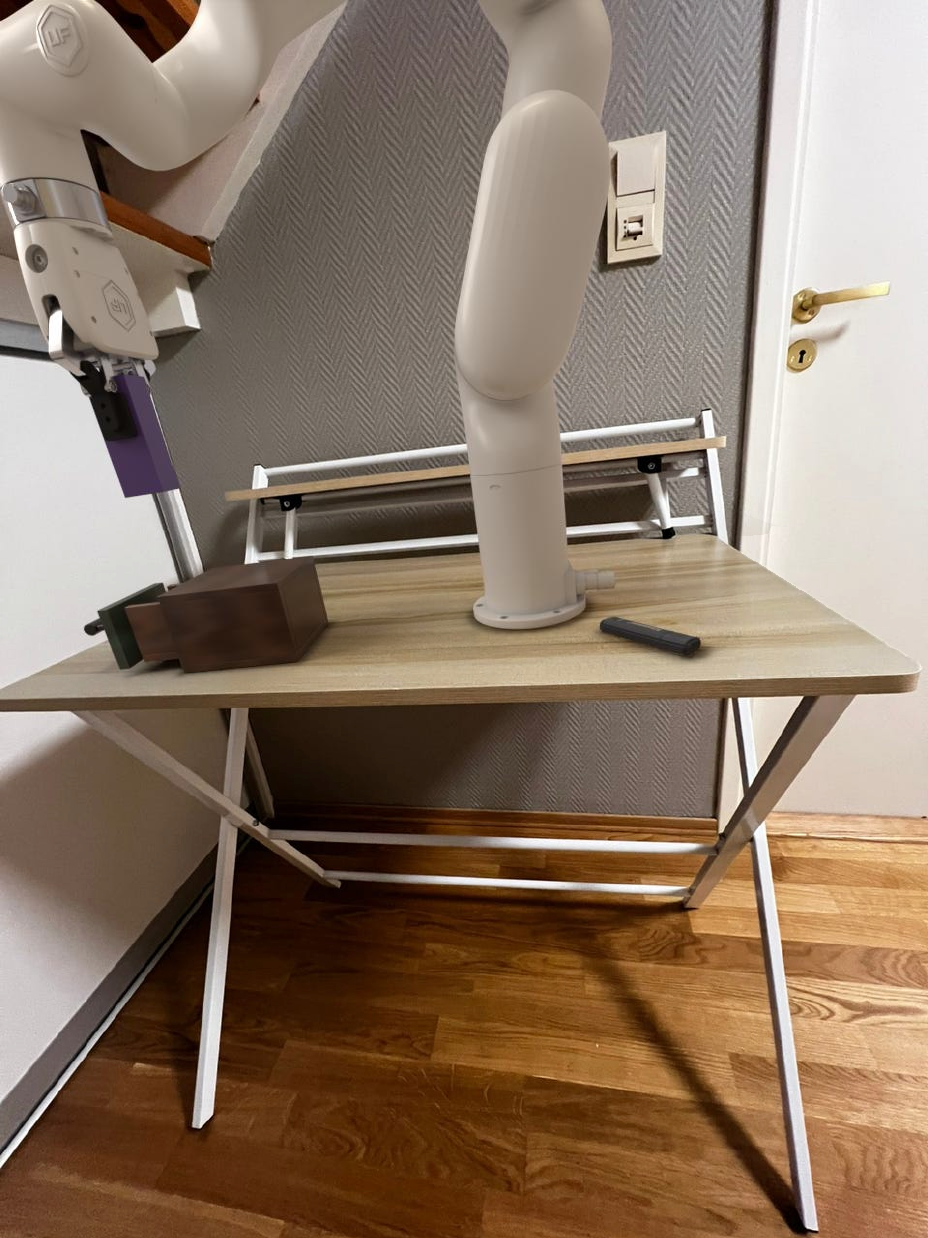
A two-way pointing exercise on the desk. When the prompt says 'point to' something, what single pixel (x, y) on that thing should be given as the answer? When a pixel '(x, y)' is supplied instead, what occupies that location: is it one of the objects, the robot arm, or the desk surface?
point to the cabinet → (246, 615)
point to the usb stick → (651, 636)
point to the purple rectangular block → (141, 445)
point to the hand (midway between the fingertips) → (134, 436)
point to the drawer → (136, 627)
